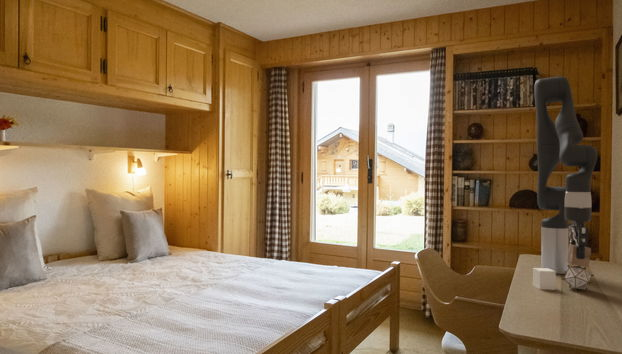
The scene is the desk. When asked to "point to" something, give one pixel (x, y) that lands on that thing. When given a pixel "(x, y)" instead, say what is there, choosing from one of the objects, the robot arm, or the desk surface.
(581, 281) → the game die
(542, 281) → the white block
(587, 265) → the walnut block
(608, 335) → the desk surface
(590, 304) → the desk surface
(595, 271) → the desk surface
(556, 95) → the robot arm
